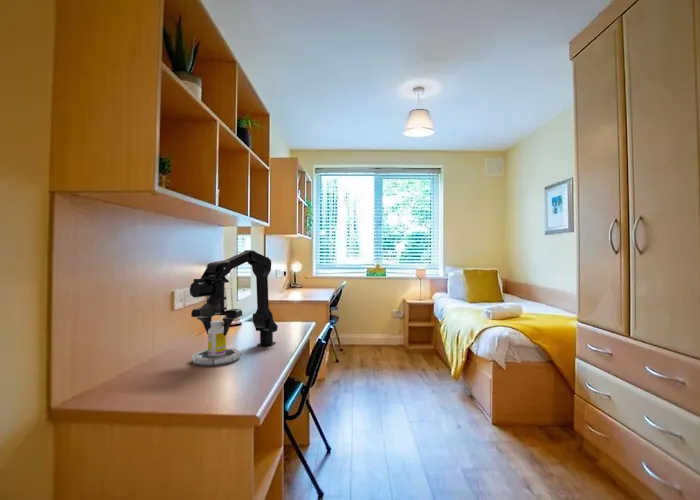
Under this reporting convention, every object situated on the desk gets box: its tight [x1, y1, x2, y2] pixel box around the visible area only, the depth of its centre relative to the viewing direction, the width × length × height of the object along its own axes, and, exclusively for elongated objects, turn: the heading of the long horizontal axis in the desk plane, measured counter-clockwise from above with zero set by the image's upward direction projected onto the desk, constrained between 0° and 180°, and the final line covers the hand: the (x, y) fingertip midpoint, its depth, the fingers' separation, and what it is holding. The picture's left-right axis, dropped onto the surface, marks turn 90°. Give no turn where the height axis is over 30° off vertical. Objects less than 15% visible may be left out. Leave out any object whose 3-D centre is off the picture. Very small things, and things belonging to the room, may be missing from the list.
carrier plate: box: [191, 347, 242, 367], centre depth 147 cm, size 17×17×2 cm
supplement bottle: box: [207, 320, 227, 357], centre depth 147 cm, size 7×7×13 cm
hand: (216, 335), depth 147 cm, fingers closed on supplement bottle, 6 cm apart
